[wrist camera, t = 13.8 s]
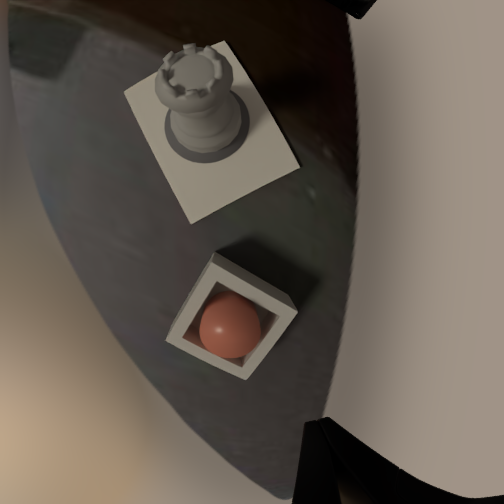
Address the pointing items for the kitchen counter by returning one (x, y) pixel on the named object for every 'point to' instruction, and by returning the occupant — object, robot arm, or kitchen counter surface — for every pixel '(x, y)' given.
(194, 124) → the rook chess piece
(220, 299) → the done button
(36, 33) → the kitchen counter surface
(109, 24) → the kitchen counter surface
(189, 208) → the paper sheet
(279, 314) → the button housing
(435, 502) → the robot arm
